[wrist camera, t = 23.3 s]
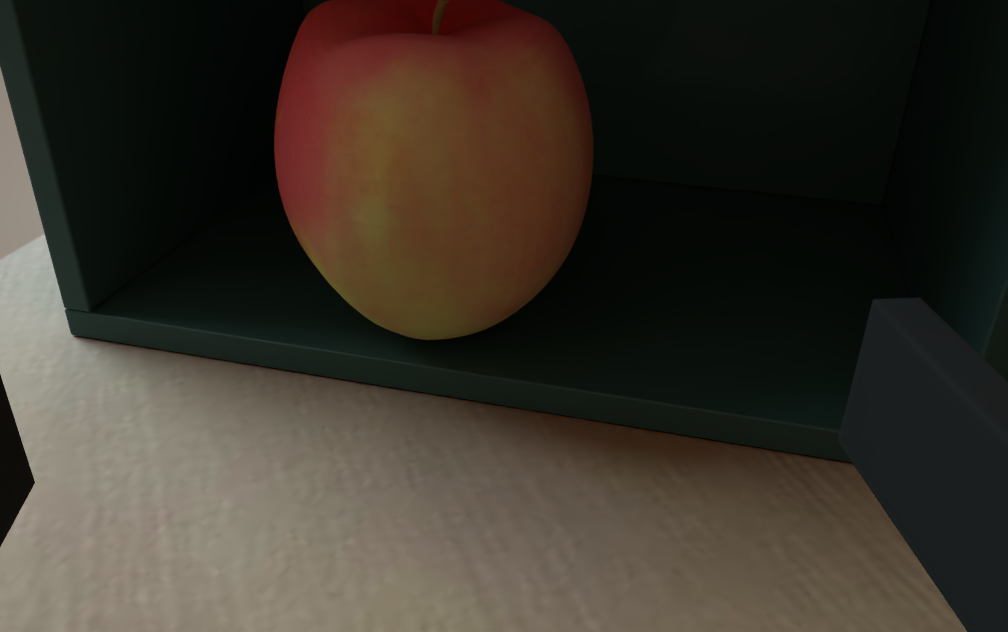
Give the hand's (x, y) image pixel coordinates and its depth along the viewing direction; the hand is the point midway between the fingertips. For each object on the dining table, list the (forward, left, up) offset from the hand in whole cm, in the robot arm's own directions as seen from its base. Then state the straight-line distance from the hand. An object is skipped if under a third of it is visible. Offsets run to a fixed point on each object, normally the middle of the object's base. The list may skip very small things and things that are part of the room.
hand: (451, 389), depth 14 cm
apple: (-5, +13, -7) cm, 16 cm away
